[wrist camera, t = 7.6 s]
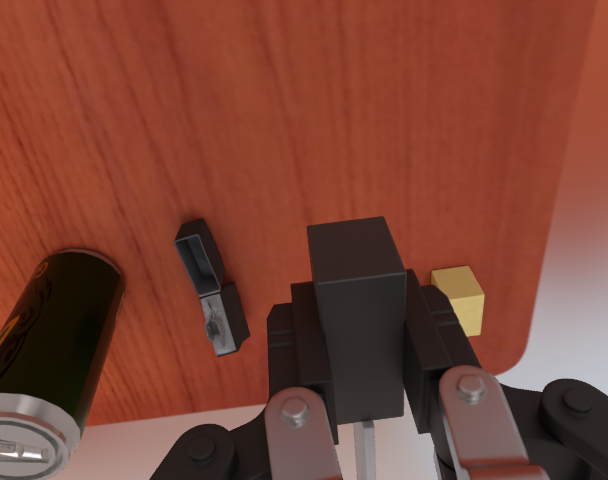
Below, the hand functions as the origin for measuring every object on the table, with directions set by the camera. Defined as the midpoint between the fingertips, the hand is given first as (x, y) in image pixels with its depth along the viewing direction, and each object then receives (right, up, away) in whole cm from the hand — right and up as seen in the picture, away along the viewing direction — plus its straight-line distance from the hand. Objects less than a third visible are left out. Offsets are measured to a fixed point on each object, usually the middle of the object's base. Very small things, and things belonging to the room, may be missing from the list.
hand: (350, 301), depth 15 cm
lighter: (-7, 0, +19) cm, 20 cm away
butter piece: (+9, -2, +21) cm, 23 cm away
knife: (0, -4, +3) cm, 5 cm away
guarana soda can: (-15, -1, +18) cm, 24 cm away
